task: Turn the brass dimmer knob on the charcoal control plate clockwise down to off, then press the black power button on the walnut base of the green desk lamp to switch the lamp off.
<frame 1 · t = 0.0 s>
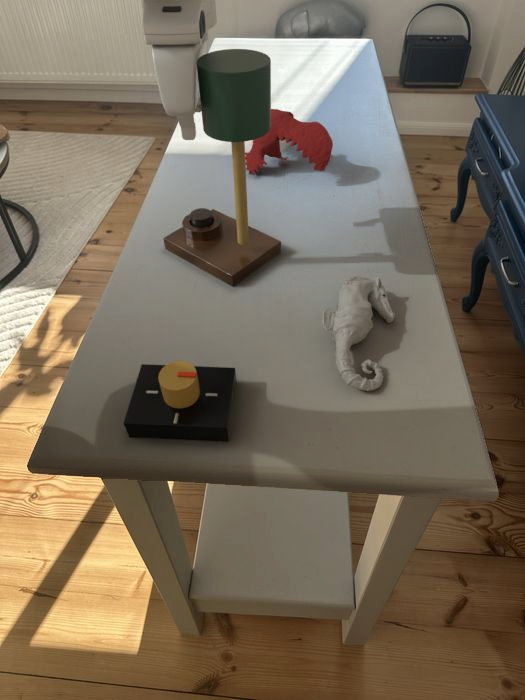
hand: (193, 123, 69), 20 cm above the table, tool pointing down, fingers open, 8 cm apart
lamp: (244, 261, 80), resting on lamp base
dimmer knob: (179, 383, 56), point 5 cm above the table, hinge at 0.0°
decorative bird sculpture: (271, 165, 103), on the table
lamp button: (201, 218, 81), point 4 cm above the table, slide at 0.1 cm
dimmer: (185, 408, 60), on the table
seahorse: (359, 339, 68), on the table
lamp base: (222, 250, 83), on the table
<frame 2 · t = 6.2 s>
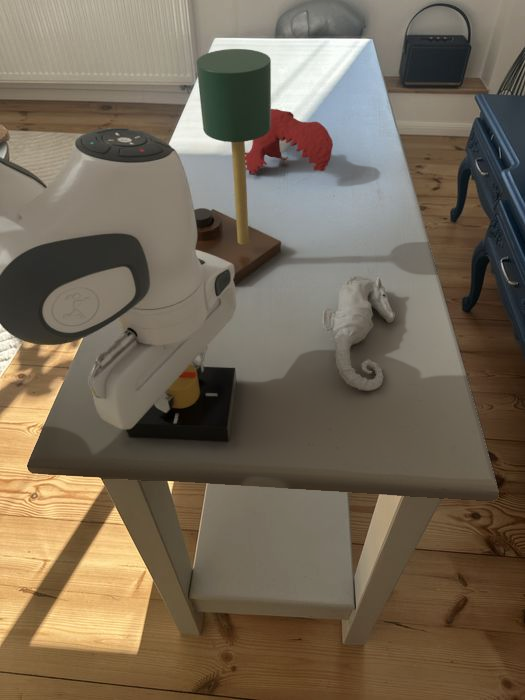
hand: (180, 389, 57), 4 cm above the table, tool pointing down, fingers closed on dimmer knob, 4 cm apart
dimmer knob: (179, 383, 56), point 5 cm above the table, hinge at 0.4°, touching gripper
everything else where it was.
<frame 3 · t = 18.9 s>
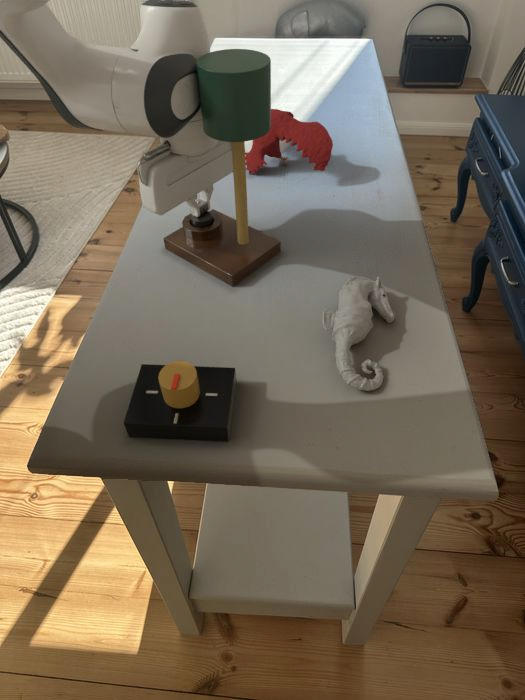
hand: (201, 212, 82), 5 cm above the table, tool pointing down, fingers closed
dimmer knob: (179, 383, 56), point 5 cm above the table, hinge at -91.0°
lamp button: (201, 220, 82), point 4 cm above the table, slide at -0.3 cm, touching gripper
everything else where it was.
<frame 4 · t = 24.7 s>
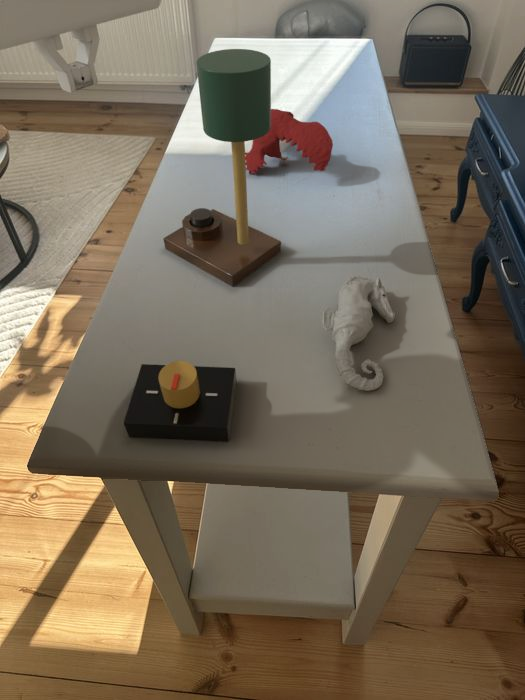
hand: (80, 87, 44), 33 cm above the table, tool pointing down, fingers closed
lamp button: (201, 218, 81), point 4 cm above the table, slide at 0.1 cm
everything else where it was.
at the end: dimmer knob at -91° (first picture: +0°); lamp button pushed in 0.8 cm at the most during the clip, back to where it started at the end; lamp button slide at 0.1 cm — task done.
